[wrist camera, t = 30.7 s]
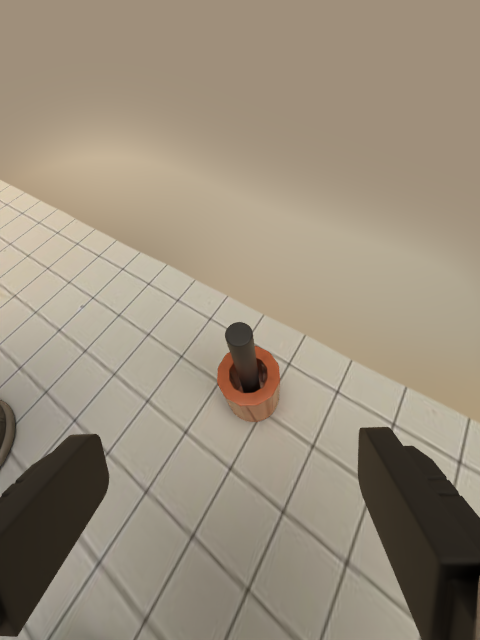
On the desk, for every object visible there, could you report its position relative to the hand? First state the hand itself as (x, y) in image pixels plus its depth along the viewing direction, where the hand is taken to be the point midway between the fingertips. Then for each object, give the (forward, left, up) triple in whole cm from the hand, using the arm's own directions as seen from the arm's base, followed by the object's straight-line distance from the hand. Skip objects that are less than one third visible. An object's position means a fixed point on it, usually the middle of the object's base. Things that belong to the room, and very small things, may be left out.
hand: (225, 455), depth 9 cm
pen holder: (0, +6, -16) cm, 18 cm away
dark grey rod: (0, +6, -16) cm, 17 cm away
